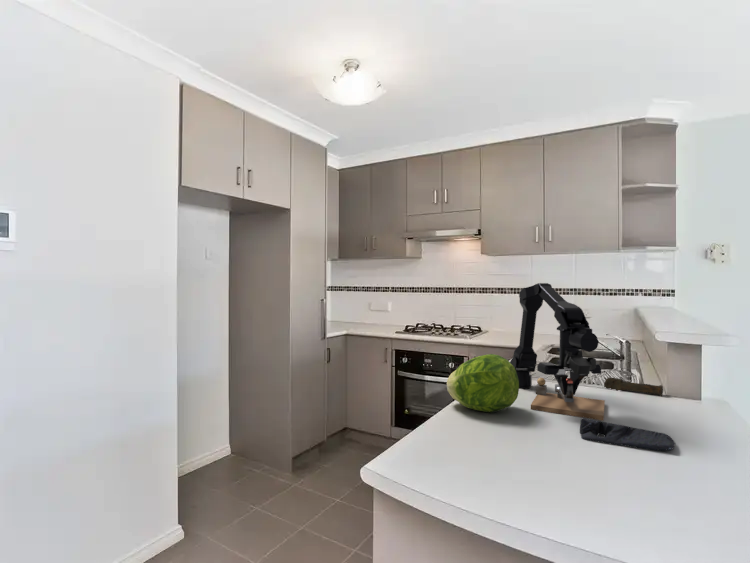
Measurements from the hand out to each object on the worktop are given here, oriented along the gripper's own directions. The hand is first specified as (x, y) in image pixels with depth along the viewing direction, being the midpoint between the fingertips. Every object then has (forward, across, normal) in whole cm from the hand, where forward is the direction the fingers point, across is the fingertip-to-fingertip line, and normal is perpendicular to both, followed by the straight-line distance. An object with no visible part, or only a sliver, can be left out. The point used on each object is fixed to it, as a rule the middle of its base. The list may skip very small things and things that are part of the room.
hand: (568, 394), depth 134 cm
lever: (+3, +3, +7) cm, 8 cm away
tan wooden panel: (+6, +3, +6) cm, 9 cm away
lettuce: (+6, -26, +6) cm, 28 cm away
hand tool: (+6, +38, +20) cm, 44 cm away
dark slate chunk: (+6, +4, -21) cm, 22 cm away
